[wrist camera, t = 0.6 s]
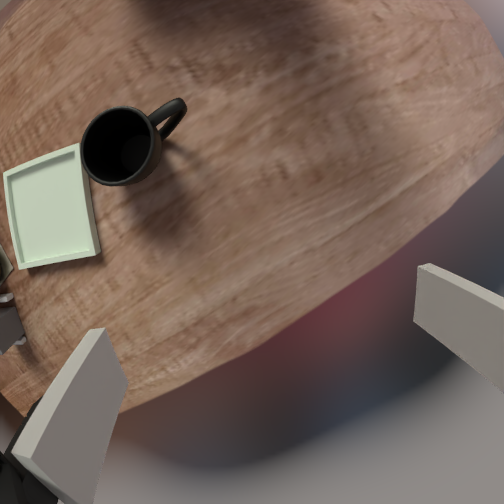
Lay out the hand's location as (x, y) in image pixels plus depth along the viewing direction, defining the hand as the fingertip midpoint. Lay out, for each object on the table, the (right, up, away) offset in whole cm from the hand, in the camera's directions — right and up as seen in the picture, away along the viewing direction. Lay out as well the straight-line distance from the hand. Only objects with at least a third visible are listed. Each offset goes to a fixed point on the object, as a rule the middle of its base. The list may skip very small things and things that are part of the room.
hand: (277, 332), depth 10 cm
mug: (-14, +17, +22) cm, 31 cm away
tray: (-30, +9, +22) cm, 38 cm away
